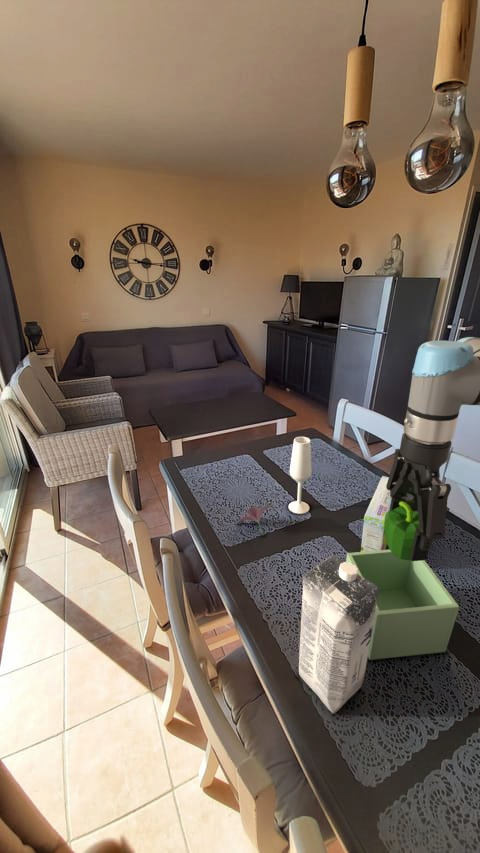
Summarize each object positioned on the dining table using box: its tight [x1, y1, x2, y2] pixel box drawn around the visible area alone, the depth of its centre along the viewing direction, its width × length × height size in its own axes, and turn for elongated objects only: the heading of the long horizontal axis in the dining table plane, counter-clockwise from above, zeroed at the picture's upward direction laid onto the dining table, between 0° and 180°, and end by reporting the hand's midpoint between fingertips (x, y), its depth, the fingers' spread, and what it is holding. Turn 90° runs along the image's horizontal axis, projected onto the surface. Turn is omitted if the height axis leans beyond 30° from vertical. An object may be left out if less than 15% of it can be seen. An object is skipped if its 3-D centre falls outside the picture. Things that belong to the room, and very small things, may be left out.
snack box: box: [360, 475, 396, 552], centre depth 98 cm, size 21×6×15 cm, turn 149°
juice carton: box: [298, 554, 378, 715], centre depth 62 cm, size 9×10×27 cm
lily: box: [236, 503, 274, 536], centre depth 106 cm, size 12×12×10 cm
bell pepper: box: [384, 501, 419, 560], centre depth 68 cm, size 8×8×10 cm
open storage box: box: [345, 549, 460, 661], centre depth 76 cm, size 16×16×13 cm
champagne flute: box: [288, 436, 313, 515], centre depth 111 cm, size 7×7×24 cm
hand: (405, 541), depth 70 cm, fingers closed on bell pepper, 8 cm apart
